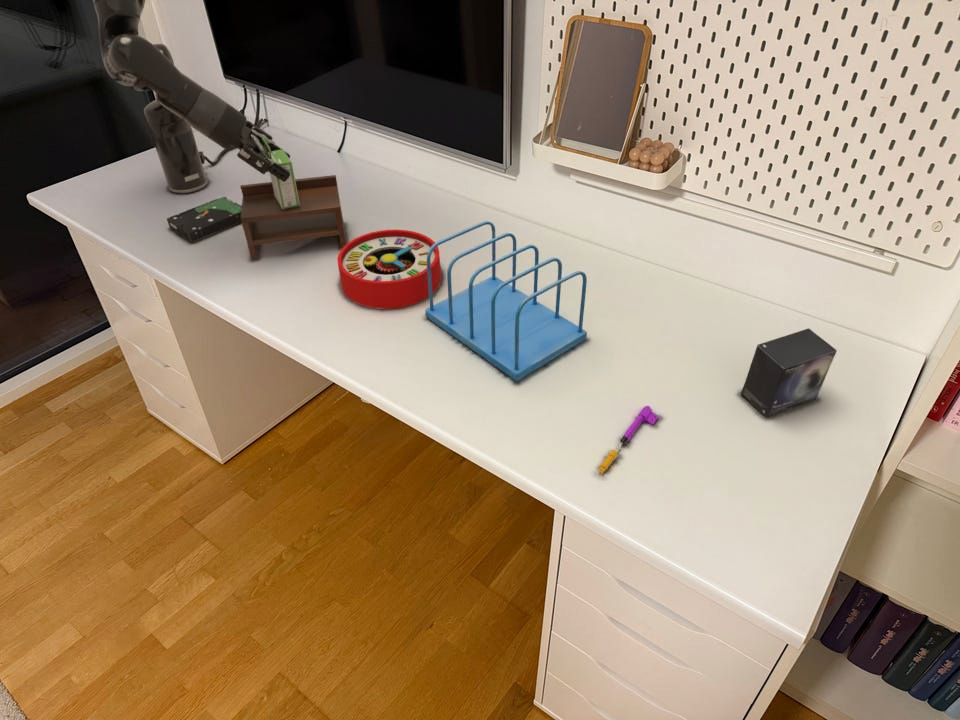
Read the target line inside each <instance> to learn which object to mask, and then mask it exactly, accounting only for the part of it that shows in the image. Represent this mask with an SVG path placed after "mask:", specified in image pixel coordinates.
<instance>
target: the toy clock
mask: <svg viewBox="0 0 960 720" xmlns="http://www.w3.org/2000/svg"><path fill="white" fill-rule="evenodd" d="M435 243H436V242H435V241H434V239H432V238H430V237H428V236H427V235H425V234H423V233H420V232H417V231H414V230H407V229H383V230H376V231H372V232H368V233H365V234H362V235H360V236H356V237H355V238H353V239H352V240H350V241H349V242H346V245H345V246H344V247H343V248H342V249H341V248H340V251H339V253H338V255H337V257H336V258H337V266H338V267H337V268H338V272H339V278H340V284H341V290H342V291H343V294H344V295H345V297H347V299H349V300H350V301H352V302H354V303H355V304H357V305H360V306H362V307H366V308H371V309H380V310H394V309H401V308H405V307H409V306H413V305H416V304H418V303H420V302H422V301H425V300H426V299H429V288H428V273H427V254H428V251H429V249H430V248H431V247H432V245H433V244H435ZM440 257H441V256H440V249H439V245H438V246H437V247H436V248H435V249H434V250H433V252H432V254H431V259H430V263H431V280H432V294H434V293H435V292H436V291H437V290H438V288H439V287H440V284H441V282H442V271H441V258H440Z"/></svg>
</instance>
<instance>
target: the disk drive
mask: <svg viewBox="0 0 960 720" xmlns="http://www.w3.org/2000/svg"><path fill="white" fill-rule="evenodd" d="M241 210H242V205H241V204H239V203H238V202H234V201H233V200H231V199H229V198H227V196H223V197H219V198H215V199H213V200H210V201H209V202H205V203H203V204H200V205H197V206H195V207H192V208H190V209H186V210H185V211H182V212H180V213H177V214H174V215H172V216H169V217H167V218H166V222H167V225H168V227H169V228H170V229H171V230H172V231H174V233H177V234H178V235H179V236H181V237H182V238H184V239H185V240H187V241H188V242H190V243H193V242H194V243H195V242H197V241H200V240H203V239H204V238H207V237H210V236H211V235H214V234H217V233H219V232H221V231H223V230H225V229H228V228H231V227H233V226H235V225H238V224H240V223H242V222H241Z"/></svg>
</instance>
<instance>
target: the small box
mask: <svg viewBox="0 0 960 720" xmlns="http://www.w3.org/2000/svg"><path fill="white" fill-rule="evenodd" d="M837 352H838V350H837V349H836V348H834V347H833V346H832V345H831V344H830V343H829V342H827V341H825V339H824V338H822V337H821V336H819V335H818V334H817V333H816V332H814V331H813V330H812V329H811V328H805V329H802V330H799V331H796V332H792V333H790V334H787V335H784V336H780V337H778V338H777V337H776V338H774V339H771V340H768V341H764V342H761V343H759V344H757V345H756V347H755V351H754V354H753V357H752V360H751V363H750V366H749V370H748V372H747V375H746V378H745V381H744V384H743V385H742V386H743V387H742V389H741V392H740V395H741V396H742V397H744V398H745V400H746V401H748V402H749V404H751V405H752V406H753V407H754V408H755V409H756V411H758V412H759V413H760V414H761V415H762V416H763V417H765V418H768V417H771V416H773V415H776V414H778V413H781V412H785V411H788V410H790V409H793V408H796V407H798V406H801V405H804V404H807V403H810V402H812V401H816V400H817V399H818V396H819V394H820V391H821V389H822V387H823V384H824V382H825V380H826V377H827V374H828V372H829V370H830V367H831V365H832V364H833V361H834V358H835V357H836V354H837Z"/></svg>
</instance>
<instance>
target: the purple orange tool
mask: <svg viewBox="0 0 960 720" xmlns="http://www.w3.org/2000/svg"><path fill="white" fill-rule="evenodd" d="M658 418H659V415H657V414H656V413H654V412H653V409H652V407H651V406H650V405H645V406H643V408H642V409H641V410H640V412H639V413H638V414H637V417H636V418H635V419H634V421H632V423H631V425H630V426H629V427H628V429H627V430H626V431H625V433H624V434H623V435H622V437H621V439H620V444H619V445H618V446H617V448H616V449H611V450H610V452H608V454H607V457H606V458H605V459H604V461H603V462H602V463H601V465H600V467H599V469H598V470H597V471H598V472H599V473H600V474H603V473H604V472H605V471H607V470H608V468H609V467H610V466H611V464H612V463H613V462H614V461H615V460H616V459H617V457H618V456H619V453H618V450H619V449H620V448H621V446H622V445H626V443H627V442H628V441H629V440H630V439H631V437H632V436H633V435H634V433H635V432H636V430H637V429H638V428H639V427H640V425H641V424H642V422H647V423H649V424H650V425H652V426H653V425H654V424H655V423H656V422H657V420H658Z"/></svg>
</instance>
